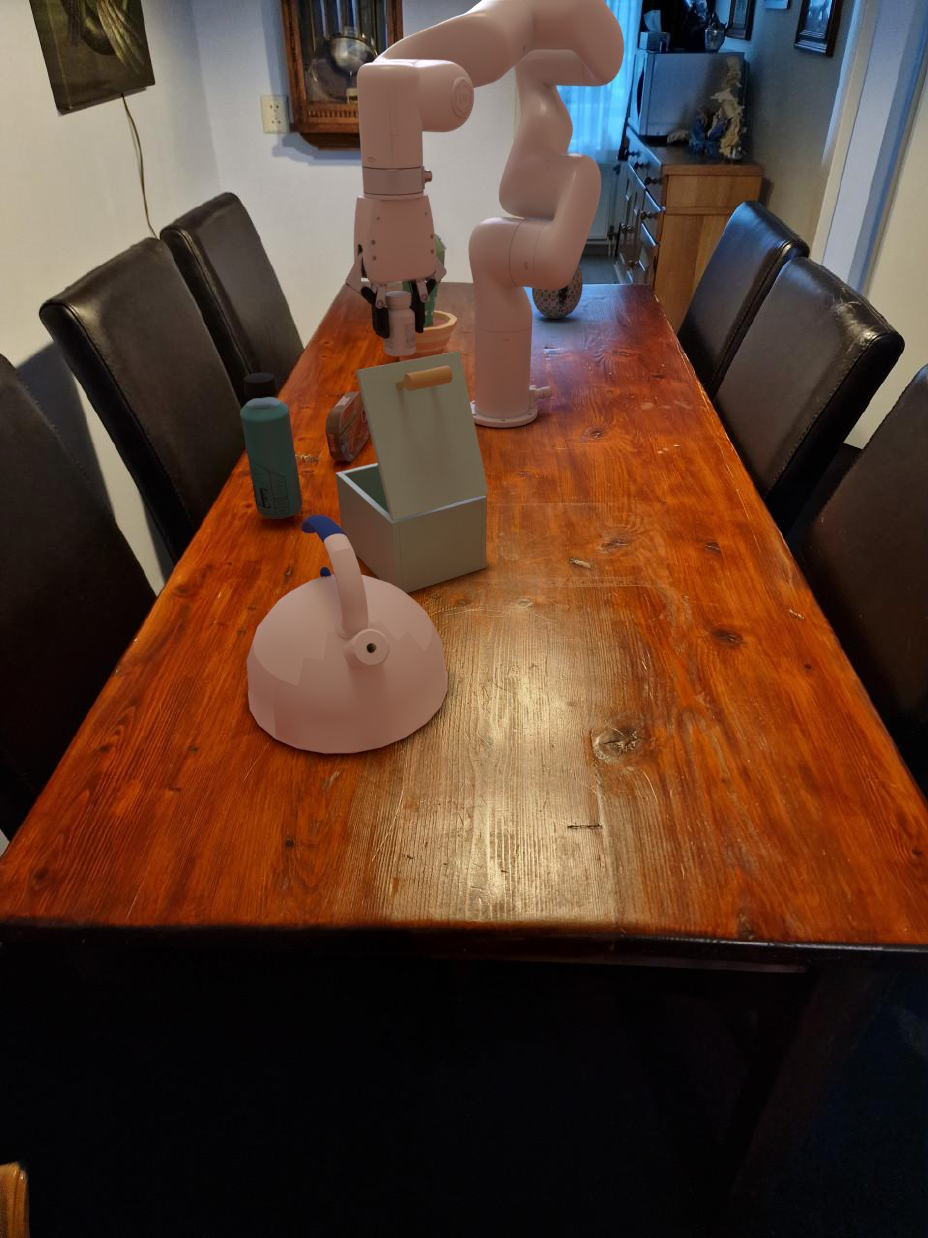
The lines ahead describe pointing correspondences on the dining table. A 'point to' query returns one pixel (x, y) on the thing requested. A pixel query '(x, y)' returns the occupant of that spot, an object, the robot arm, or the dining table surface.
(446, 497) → the lid
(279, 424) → the beverage bottle
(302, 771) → the dining table surface
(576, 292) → the decorative egg
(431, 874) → the dining table surface
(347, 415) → the tin
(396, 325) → the pill bottle
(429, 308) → the potted cactus
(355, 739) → the kettle
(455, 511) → the chest
